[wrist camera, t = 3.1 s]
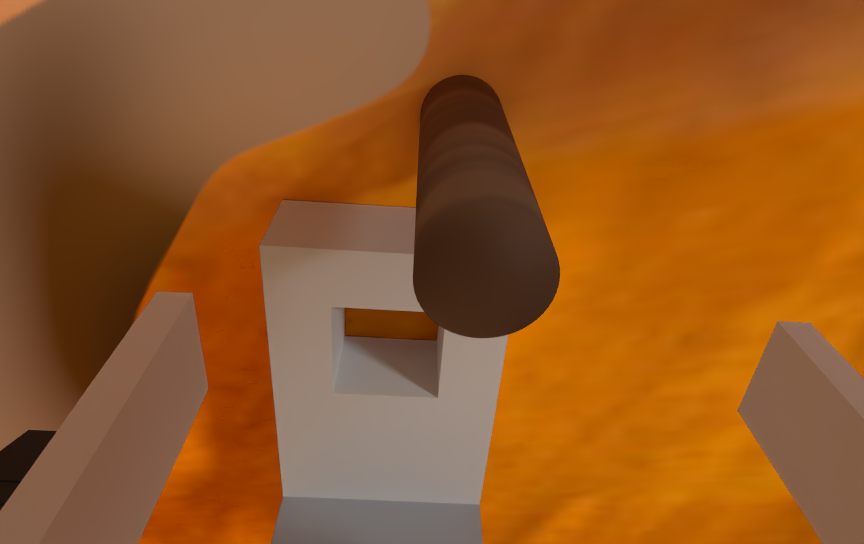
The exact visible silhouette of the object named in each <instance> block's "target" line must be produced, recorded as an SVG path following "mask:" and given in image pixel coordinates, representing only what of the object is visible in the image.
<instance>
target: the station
mask: <svg viewBox="0 0 864 544" xmlns="http://www.w3.org/2000/svg"><path fill="white" fill-rule="evenodd" d="M415 219H416V208H411V207H394V206H378V205H361V204H345V203H328V202H312V201H295V200H282V202H281V204H280V205H279V207H278V209H277V211H276V213H275V215H274V217H273V219H272V221H271V223H270V225H269V227H268V229H267V231H266V233H265V235H264V237H263V239H262V240H261V242H260V244H259V250H260V261H261V271H262V282H263V292H264V303H265V313H266V324H267V334H268V345H269V355H270V366H271V376H272V387H273V397H274V407H275V418H276V428H277V439H278V449H279V460H280V470H281V481H282V491H283V498H282V502H281V506H280V510H279V514H278V518H277V522H276V526H275V530H274V534H273V538H272V542H271V544H483V540H482V528H481V516H480V499H481V493H482V487H483V481H484V475H485V469H486V463H487V457H488V451H489V445H490V439H491V433H492V428H493V422H494V416H495V410H496V404H497V398H498V392H499V386H500V380H501V374H502V368H503V362H504V356H505V350H506V345H507V339H508V335H505V336H500V337H495V338H471V337H465V336H461V335H458V334H455V333H452V332H450V331H448V330H446V329H444V328H442V327H440V326H439V325H438V334H437V341H433V340H414V339H394V338H375V337H356V336H345V311H344V308H360V309H378V310H397V311H415V312H424V311H423V309H422V308H421V307H420V305H419V303H418V301H417V298H416V295H415V292H414V287H413V261H414V240H415Z"/></svg>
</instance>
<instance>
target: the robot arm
mask: <svg viewBox="0 0 864 544" xmlns="http://www.w3.org/2000/svg"><path fill="white" fill-rule="evenodd" d="M208 389H209V388H208V382H207V376H206V370H205V364H204V358H203V352H202V346H201V340H200V334H199V328H198V322H197V316H196V310H195V304H194V298H193V293H184V292H163V291H157V292H156V293H155V294H154V296H153V297H152V299H151V300H150V301H149V303H148V304H147V306H146V307H145V308H144V310H143V311H142V313H141V314H140V315H139V317H138V318H137V320H136V321H135V322H134V324H133V325H132V327H131V328H130V329H129V331H128V332H127V334H126V335H125V337H124V338H123V339H122V341H121V342H120V344H119V345H118V346H117V348H116V349H115V351H114V352H113V353H112V355H111V356H110V358H109V359H108V360H107V362H106V363H105V365H104V366H103V367H102V369H101V370H100V372H99V373H98V374H97V376H96V377H95V379H94V380H93V381H92V383H91V384H90V386H89V387H88V388H87V390H86V391H85V393H84V394H83V395H82V397H81V398H80V400H79V401H78V402H77V404H76V406H75V407H74V408H73V410H72V411H71V412H70V414H69V415H68V417H67V418H66V419H65V421H64V422H63V424H62V425H61V426H60V428H59V429H58V431H39V430H28V431H27V432H25V433H24V434H23V435H21V436H20V437H19V438H17V439H16V440H15V441H13V442H12V443H10V444H9V445H8V446H6V447H5V448H4V449H2V450H1V451H0V544H138V543H139V541H140V538H141V536H142V534H143V532H144V530H145V527H146V525H147V523H148V521H149V519H150V516H151V514H152V512H153V510H154V508H155V505H156V503H157V501H158V499H159V497H160V494H161V492H162V490H163V488H164V486H165V483H166V481H167V479H168V477H169V475H170V472H171V470H172V468H173V466H174V464H175V461H176V459H177V457H178V455H179V453H180V450H181V448H182V446H183V444H184V442H185V439H186V437H187V435H188V433H189V431H190V428H191V426H192V424H193V422H194V420H195V417H196V415H197V413H198V411H199V409H200V406H201V404H202V402H203V400H204V398H205V395H206V393H207V391H208ZM738 412H739V414H740V415H741V417H742V418H743V420H744V421H745V423H746V424H747V426H748V428H749V429H750V431H751V432H752V434H753V435H754V437H755V438H756V440H757V442H758V443H759V445H760V446H761V448H762V449H763V451H764V453H765V454H766V456H767V457H768V459H769V460H770V462H771V463H772V465H773V467H774V468H775V470H776V471H777V473H778V474H779V476H780V478H781V479H782V481H783V482H784V484H785V485H786V487H787V488H788V490H789V492H790V493H791V495H792V496H793V498H794V499H795V501H796V502H797V504H798V506H799V507H800V509H801V510H802V512H803V513H804V515H805V517H806V518H807V520H808V521H809V523H810V524H811V526H812V527H813V529H814V531H815V532H816V534H817V535H818V537H819V538H820V540H821V542H822V543H823V544H864V379H863V377H862V376H861V375H860V374H859V373H858V372H857V371H856V370H855V369H854V368H853V367H852V366H851V365H850V364H849V363H848V362H847V361H846V360H845V359H844V358H843V357H842V356H841V355H840V353H839V352H838V351H837V350H836V349H835V348H834V347H833V346H832V345H831V344H830V343H829V342H828V341H827V340H826V339H825V338H824V337H823V336H822V335H821V334H820V333H819V332H818V331H817V330H816V328H815V327H814V326H813V325H812V324H811V323H801V322H780V321H778V322H777V324H776V326H775V329H774V331H773V333H772V335H771V337H770V340H769V342H768V344H767V346H766V348H765V351H764V353H763V355H762V357H761V360H760V362H759V364H758V366H757V368H756V371H755V373H754V375H753V377H752V379H751V382H750V384H749V386H748V388H747V391H746V393H745V395H744V397H743V399H742V402H741V404H740V406H739V408H738Z"/></svg>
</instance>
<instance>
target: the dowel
mask: <svg viewBox="0 0 864 544" xmlns="http://www.w3.org/2000/svg"><path fill="white" fill-rule="evenodd" d="M559 279H560V266H559V261H558V257H557V254H556V252H555V249H554V246H553V243H552V241H551V238H550V235H549V233H548V230H547V227H546V225H545V222H544V219H543V216H542V214H541V211H540V208H539V206H538V203H537V200H536V198H535V195H534V192H533V189H532V187H531V184H530V181H529V179H528V176H527V173H526V171H525V168H524V165H523V162H522V160H521V157H520V154H519V152H518V149H517V146H516V144H515V141H514V138H513V135H512V133H511V130H510V127H509V125H508V122H507V119H506V117H505V114H504V111H503V108H502V106H501V103H500V100H499V98H498V96H497V94H496V93H495V91H494V90H493V89H492V88H491V87H490V86H489V85H488V84H487V83H486V82H484V81H482V80H480V79H478V78H476V77H472V76H466V75H458V76H453V77H449V78H447V79H444V80H442V81H441V82H439V83H438V84H436V85H435V86H434V87H433V88H432V89H431V90H430V91H429V93H428V94H427V96H426V97H425V99H424V102H423V104H422V108H421V115H420V135H419V156H418V177H417V198H416V219H415V240H414V261H413V287H414V292H415V295H416V298H417V301H418V303H419V305H420V307H421V308H422V309H423V311H424V312H425V314H426V315H427V316H428V317H429V318H430V319H431V320H432V321H434V322H435V323H436V324H437V325H439V326H440V327H442V328H444V329H446V330H448V331H450V332H452V333H455V334H458V335H461V336H465V337H471V338H495V337H500V336H505V335H508V334H511V333H514V332H516V331H519V330H521V329H523V328H525V327H526V326H528V325H530V324H531V323H532V322H534V321H535V320H536V319H538V318H539V317H540V316H541V315H542V314H543V313H544V312H545V310H546V309H547V308H548V307H549V305H550V304H551V302H552V300H553V299H554V296H555V294H556V292H557V288H558V285H559Z"/></svg>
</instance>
